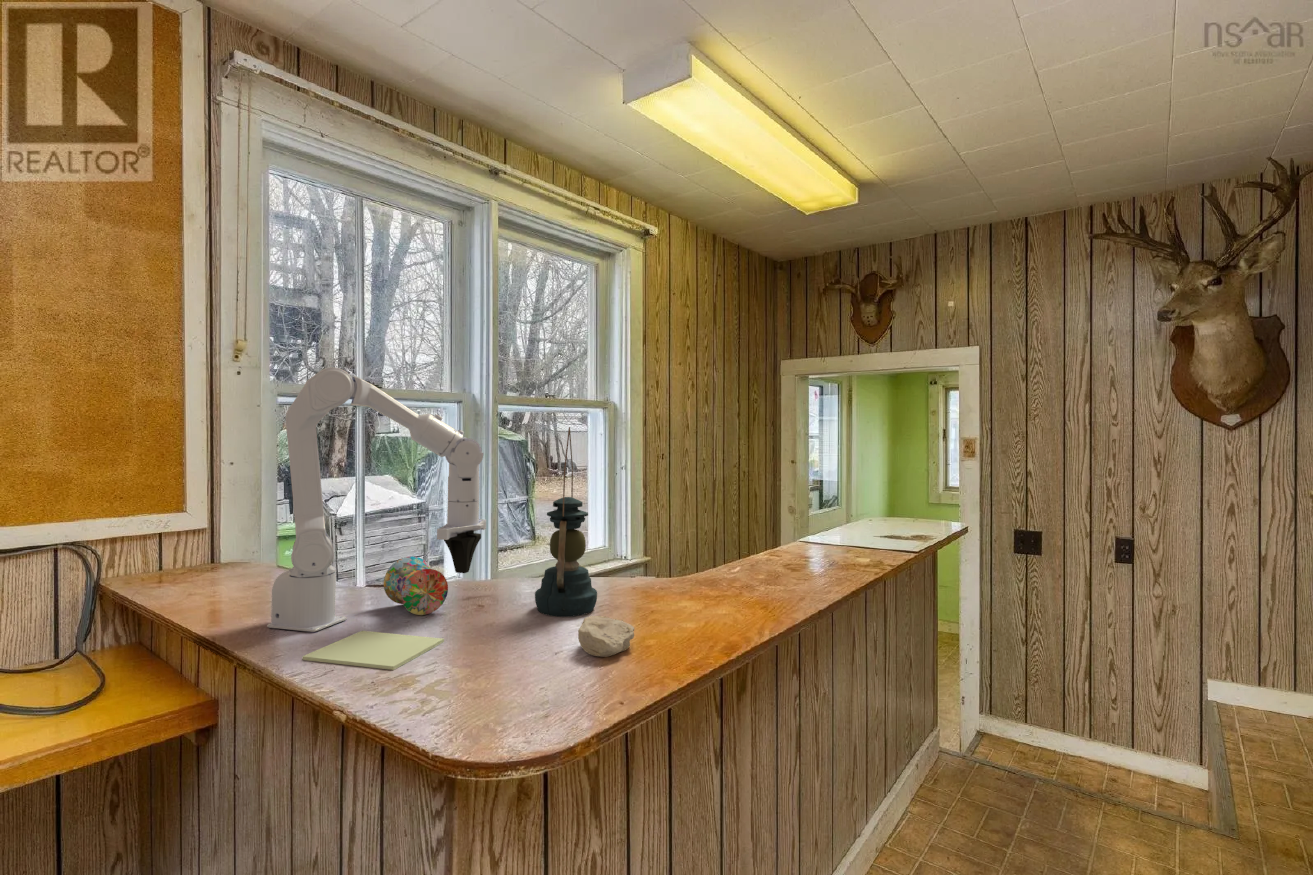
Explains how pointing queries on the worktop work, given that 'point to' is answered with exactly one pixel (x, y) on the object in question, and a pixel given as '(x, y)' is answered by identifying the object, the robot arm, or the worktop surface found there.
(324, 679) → the worktop surface
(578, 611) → the lantern
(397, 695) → the worktop surface
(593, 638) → the beige stone
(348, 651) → the mat
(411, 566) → the mug
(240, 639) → the worktop surface
